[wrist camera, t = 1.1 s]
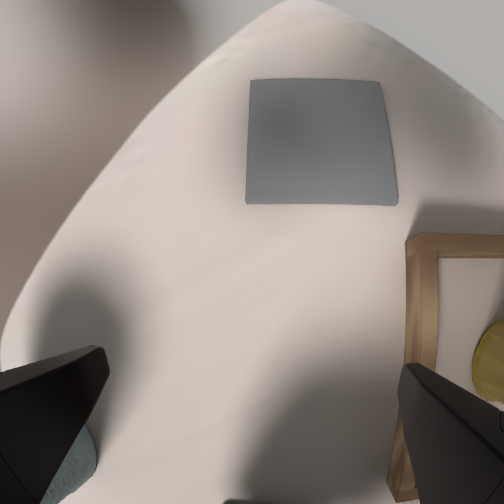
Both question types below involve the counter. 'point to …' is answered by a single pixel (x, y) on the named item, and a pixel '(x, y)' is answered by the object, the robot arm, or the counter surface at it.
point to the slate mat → (318, 143)
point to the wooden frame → (428, 323)
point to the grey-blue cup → (73, 469)
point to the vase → (490, 364)
